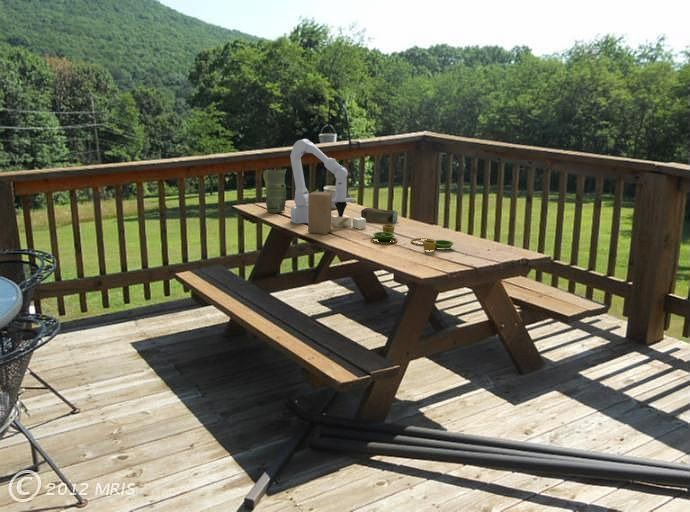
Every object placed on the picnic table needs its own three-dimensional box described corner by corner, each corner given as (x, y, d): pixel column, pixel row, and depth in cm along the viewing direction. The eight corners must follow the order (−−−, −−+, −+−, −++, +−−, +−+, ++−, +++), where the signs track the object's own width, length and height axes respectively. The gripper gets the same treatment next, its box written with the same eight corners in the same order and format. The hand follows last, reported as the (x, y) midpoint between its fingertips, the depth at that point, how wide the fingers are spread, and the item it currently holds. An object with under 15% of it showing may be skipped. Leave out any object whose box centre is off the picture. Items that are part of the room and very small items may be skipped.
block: (326, 234, 332) (327, 195, 327) (307, 233, 334) (307, 194, 329) (331, 230, 342) (332, 191, 336) (312, 229, 343) (312, 190, 338)
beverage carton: (393, 224, 361) (393, 212, 359) (360, 221, 368) (360, 209, 366) (397, 221, 368) (398, 210, 366) (365, 218, 375) (365, 206, 373)
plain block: (337, 227, 350) (337, 218, 349) (331, 224, 357) (331, 215, 356) (351, 226, 353) (351, 217, 352) (344, 223, 360) (344, 214, 359)
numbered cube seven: (357, 229, 347) (357, 219, 345) (352, 227, 351) (352, 217, 350) (365, 228, 349) (365, 218, 348) (361, 226, 353) (361, 216, 352)
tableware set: (358, 239, 326) (359, 226, 325) (401, 233, 342) (402, 220, 341) (414, 258, 294) (415, 244, 293) (459, 250, 310) (460, 236, 309)
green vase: (261, 212, 383) (261, 169, 377) (271, 209, 394) (271, 166, 388) (279, 214, 379) (278, 170, 373) (288, 210, 390) (288, 168, 384)
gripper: (332, 192, 344) (331, 218, 348) (356, 191, 351) (356, 216, 354) (326, 190, 350) (325, 216, 354) (350, 189, 357) (350, 214, 360)
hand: (340, 216), depth 355 cm, fingers closed, pressing on plain block
